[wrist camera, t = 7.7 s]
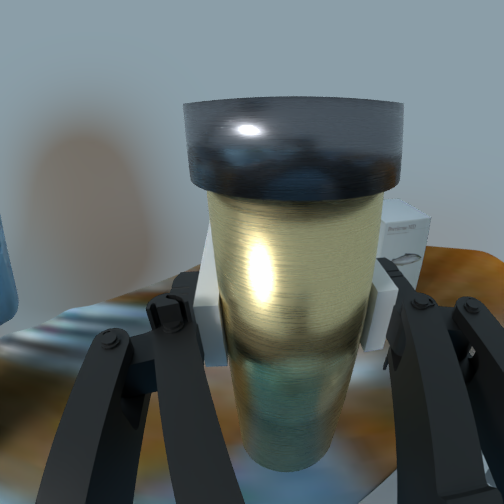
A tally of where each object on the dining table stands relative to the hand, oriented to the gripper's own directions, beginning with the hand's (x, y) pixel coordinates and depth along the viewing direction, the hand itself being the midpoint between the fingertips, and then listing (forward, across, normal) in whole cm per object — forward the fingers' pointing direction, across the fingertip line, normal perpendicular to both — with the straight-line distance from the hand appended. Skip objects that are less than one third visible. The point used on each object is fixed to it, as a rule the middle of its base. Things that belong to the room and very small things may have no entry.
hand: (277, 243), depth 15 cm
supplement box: (+18, +16, -18) cm, 31 cm away
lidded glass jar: (-5, 0, -9) cm, 10 cm away
